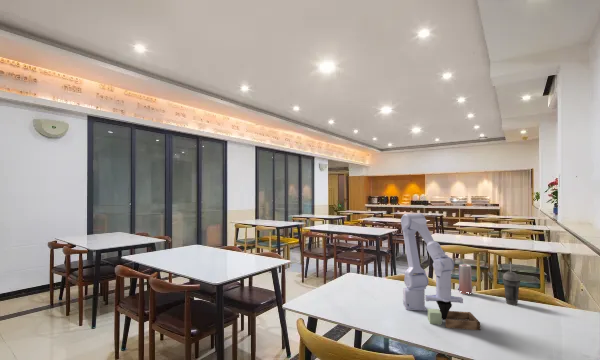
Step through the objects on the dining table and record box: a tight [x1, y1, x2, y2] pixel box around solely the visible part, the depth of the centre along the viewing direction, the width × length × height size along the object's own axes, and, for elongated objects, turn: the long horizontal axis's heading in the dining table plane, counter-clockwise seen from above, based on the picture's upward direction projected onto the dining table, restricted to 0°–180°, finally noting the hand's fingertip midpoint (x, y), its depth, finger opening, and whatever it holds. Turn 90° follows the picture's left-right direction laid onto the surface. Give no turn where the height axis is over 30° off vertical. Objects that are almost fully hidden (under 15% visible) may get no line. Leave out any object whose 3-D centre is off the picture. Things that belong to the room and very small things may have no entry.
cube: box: [427, 308, 443, 325], centre depth 131 cm, size 4×4×4 cm
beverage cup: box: [502, 261, 521, 306], centre depth 152 cm, size 7×7×20 cm
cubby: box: [444, 310, 481, 331], centre depth 129 cm, size 13×10×3 cm
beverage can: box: [458, 263, 473, 296], centre depth 166 cm, size 6×6×15 cm
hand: (443, 319), depth 130 cm, fingers closed
